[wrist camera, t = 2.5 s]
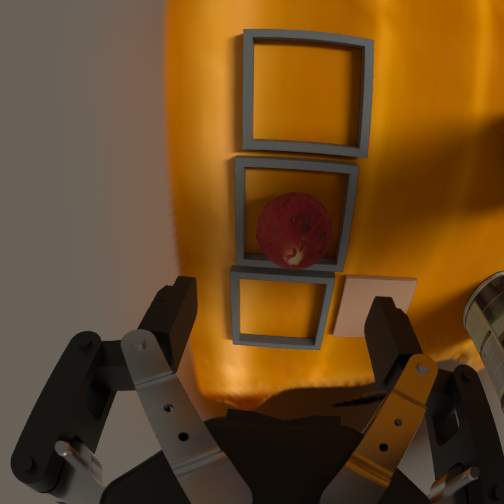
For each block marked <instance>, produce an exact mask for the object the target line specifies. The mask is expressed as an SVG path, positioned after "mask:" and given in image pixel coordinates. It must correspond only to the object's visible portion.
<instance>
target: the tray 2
mask: <svg viewBox="0 0 504 504" xmlns="http://www.w3.org/2000/svg"><path fill="white" fill-rule="evenodd" d="M245 167H265V168H285V169H300V170H314V171H326V172H337V173H347V177H346V186H345V194H344V202H343V210H342V217H341V224H340V231H339V237H338V244H337V250H336V256H335V259H332V258H321V259H320V260H319V261H318V262H317V263H315V264H313V265H312V266H310V267H308V268H304V269H299V270H315V271H332V272H343V268H344V263H345V258H346V252H347V247H348V241H349V235H350V229H351V223H352V216H353V210H354V203H355V196H356V188H357V180H358V172H359V166H358V165H357V164H356V163H349V162H340V161H329V160H318V159H305V158H290V157H271V156H243V155H237V156H236V157H235V226H236V265H239V266H253V267H268V268H282V267H280V266H278V265H276V264H274V263H273V262H271V261H270V260H269V259H268V258H267V257H266V256H265V254H253V253H245ZM283 269H286V268H283Z"/></svg>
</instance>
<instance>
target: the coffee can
mask: <svg viewBox="0 0 504 504" xmlns="http://www.w3.org/2000/svg"><path fill="white" fill-rule="evenodd" d="M463 324H464V327H465V329H466V330H467V331H468V333H469V335H470V337H471V339H472V341H473V343H474V345H475V347H476V349H477V351H478V353H479V355H480V357H481V359H482V361H483V363H484V365H485V367H486V369H487V372H488V374H489V376H490V378H491V380H492V383H493V385H494V388H495V390H496V392H497V395H498V397H499V400H500V402H501V408H502V411H503V413H504V271H501V272H498V273H496V274H494V275H492V276H491V277H489V278H488V279H487V280H485V281H484V282H483V283H482V284H481V285H480V286H479V287H478V288H477V289H476V290H475V291H474V293H473V294H472V295H471V297H470V299H469V300H468V302H467V304H466V307H465V310H464V313H463Z"/></svg>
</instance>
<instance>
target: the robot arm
mask: <svg viewBox="0 0 504 504" xmlns="http://www.w3.org/2000/svg"><path fill="white" fill-rule="evenodd" d="M197 307H198V305H197V286H196V278H194V277H186V276H178V277H177V279H176V281H175V283H174V285H173V286H168V285H166V286H165V287H163V288H162V289H161V290H159V291H158V293H157V294H156V296H155V298H154V301H152V303H151V305H150V307H149V309H148V310H147V312H146V314H145V316H144V317H143V320H142V321H141V323H140V325H139V327H138V328H137V330H133V331H130V332H129V333H127V334H126V335H125V336H124V337H123V338H122V340H117V341H101V338H100V336H99V335H98V334H97V333H95V332H92V331H84V332H81V333H78V334H77V335H75V336H74V337H73V338H72V339H71V341H70V342H69V344H68V346H67V347H66V349H65V351H64V352H63V354H62V356H61V358H60V359H59V361H58V363H57V365H56V366H55V368H54V370H53V372H52V374H51V375H50V377H49V379H48V381H47V383H46V385H45V387H44V388H43V390H42V392H41V394H40V396H39V398H38V400H37V402H36V404H35V406H34V408H33V410H32V412H31V414H30V416H29V419H28V420H27V423H26V425H25V427H24V429H23V431H22V433H21V436H20V438H19V440H18V443H17V445H16V447H15V450H14V452H13V454H12V457H11V468H12V471H13V473H14V475H15V476H16V478H18V480H20V481H22V482H23V483H24V484H26V485H27V486H29V487H30V488H31V489H33V490H34V491H36V492H37V493H39V494H41V495H43V496H44V497H46V498H48V499H50V500H52V501H55V502H57V503H59V504H504V455H503V451H502V447H501V443H500V440H499V436H498V432H497V429H496V425H495V422H494V419H493V416H492V412H491V409H490V406H489V403H488V401H487V398H486V395H485V392H484V389H483V387H482V384H481V382H480V379H479V377H478V374H477V372H476V371H475V370H474V369H473V368H471V367H470V366H468V365H459V366H457V367H456V368H455V370H454V371H453V372H450V371H446V370H442V369H438V367H437V364H436V363H435V361H434V360H433V359H432V358H430V357H429V356H427V355H424V354H423V352H422V350H421V347H420V345H419V342H418V340H417V337H416V335H415V332H414V330H413V328H412V326H411V323H410V321H409V318H408V316H407V315H406V314H405V313H404V312H403V311H402V310H401V309H400V308H396V305H395V303H394V301H393V298H392V297H385V296H375V298H374V300H373V302H372V305H371V308H370V310H369V313H368V316H367V318H366V321H365V325H364V335H365V339H366V343H367V347H368V351H369V355H370V359H371V364H372V368H373V372H374V377H375V381H376V386H377V390H387V395H386V397H385V398H384V400H383V402H382V403H381V405H380V407H379V408H378V410H377V411H376V413H375V414H374V416H373V417H372V419H371V420H370V422H369V423H368V425H367V426H366V428H365V429H364V431H363V432H362V433H361V432H359V431H358V430H356V429H354V428H352V427H350V426H347V425H344V424H341V417H340V416H310V417H304V418H299V419H293V420H286V421H285V420H281V419H277V418H274V417H270V416H267V415H264V414H260V413H258V412H252V411H243V410H234V409H228V410H227V416H221V417H216V418H212V419H208V420H206V421H202V419H201V417H200V416H199V414H198V412H197V410H196V409H195V407H194V405H193V403H192V402H191V400H190V398H189V396H188V395H187V393H186V391H185V389H184V387H183V385H182V384H181V382H180V380H179V378H178V377H177V375H176V372H177V369H178V367H179V364H180V361H181V358H182V355H183V352H184V349H185V347H186V344H187V341H188V338H189V335H190V333H191V330H192V327H193V324H194V322H195V319H196V315H197ZM173 372H174V373H173ZM127 390H136V391H137V393H138V396H139V399H140V401H141V404H142V406H143V408H144V411H145V413H146V416H147V418H148V420H149V422H150V425H151V427H152V429H153V431H154V433H155V436H156V438H157V440H158V442H159V444H160V446H161V448H162V450H160V451H159V452H157V453H156V454H154V455H153V456H151V457H150V458H148V459H147V460H145V461H144V462H142V463H141V464H139V465H138V466H136V467H134V468H133V469H131V470H130V471H128V472H126V473H125V474H123V475H122V476H120V477H118V478H117V479H115V480H113V481H112V482H111V483H110V484H109V485H108V486H107V487H105V486H104V484H103V481H102V465H101V462H100V461H99V459H98V458H97V457H96V456H95V455H94V454H95V451H96V448H97V445H98V442H99V439H100V436H101V433H102V430H103V428H104V425H105V422H106V419H107V416H108V414H109V411H110V408H111V406H112V403H113V400H114V398H115V395H116V392H117V391H127ZM455 412H457V416H458V419H459V428H458V424H457V420H456V416H455ZM424 415H425V419H426V424H427V429H428V435H429V440H430V446H431V452H432V459H433V465H434V473H435V481H434V483H433V484H432V486H431V488H430V493H429V495H428V497H427V496H426V495H425V494H424V493H423V492H422V491H421V490H420V489H419V488H418V487H417V486H416V485H415V484H414V483H413V482H411V481H410V480H409V479H408V478H407V477H406V476H405V475H404V474H403V473H402V472H401V471H400V470H399V469H398V468H397V466H398V465H399V463H400V461H401V459H402V458H403V456H404V454H405V452H406V450H407V448H408V447H409V445H410V442H411V441H412V439H413V436H414V434H415V432H416V430H417V429H418V426H419V424H420V422H421V420H422V418H423V416H424Z"/></svg>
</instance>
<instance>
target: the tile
mask: <svg viewBox="0 0 504 504" xmlns="http://www.w3.org/2000/svg"><path fill="white" fill-rule="evenodd" d="M417 283H418V280H417V279H416V278H402V277H382V276H362V275H346V276H345V281H344V285H343V290H342V294H341V299H340V303H339V308H338V312H337V316H336V320H335V324H334V328H333V332H332V334H333V336H334V337H365V335H364V325H365V321H366V318H367V316H368V313H369V310H370V308H371V305H372V302H373V300H374V298H375V296H385V297H392V298H393V301H394V303H395V305H396V308H400V309H401V310H402V311H403V312H404V313H405V314H406V313H407V310H408V308H409V305H410V302H411V300H412V297H413V294H414V291H415V289H416V286H417Z"/></svg>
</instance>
